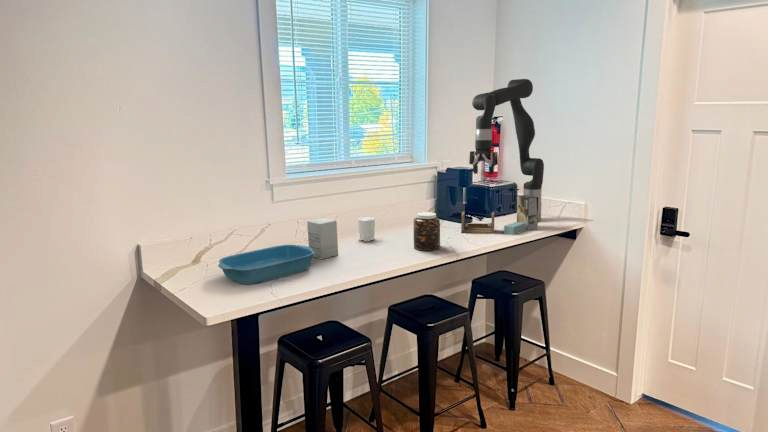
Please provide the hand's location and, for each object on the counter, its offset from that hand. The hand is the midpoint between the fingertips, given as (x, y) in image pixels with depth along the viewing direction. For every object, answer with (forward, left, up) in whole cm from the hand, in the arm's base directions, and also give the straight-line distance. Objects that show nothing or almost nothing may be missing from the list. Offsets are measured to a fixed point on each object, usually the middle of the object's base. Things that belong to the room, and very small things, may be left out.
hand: (483, 174), depth 242 cm
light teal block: (-16, +8, -29) cm, 34 cm away
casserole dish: (+102, -24, -30) cm, 109 cm away
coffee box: (-27, +8, -29) cm, 41 cm away
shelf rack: (-5, -6, -29) cm, 30 cm away
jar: (+35, -4, -29) cm, 46 cm away
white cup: (+42, -35, -29) cm, 62 cm away
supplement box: (+73, -28, -29) cm, 84 cm away
